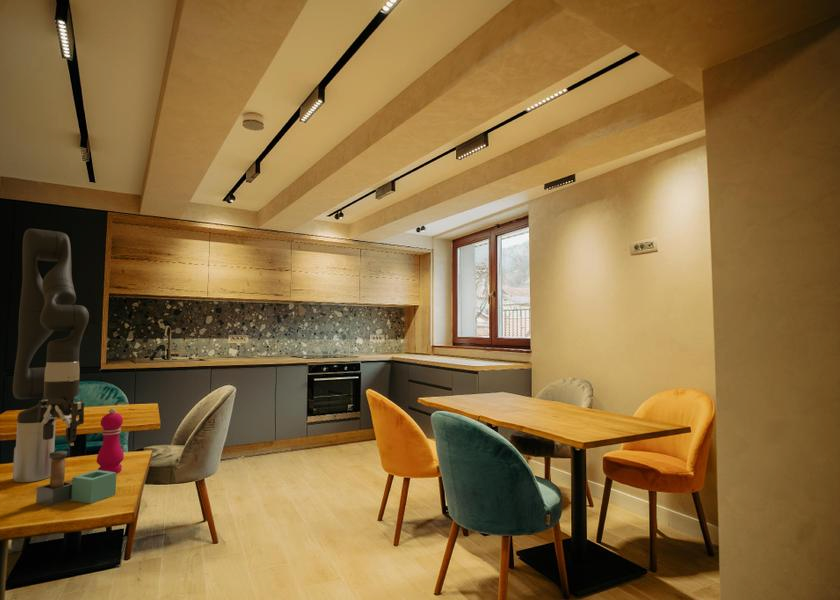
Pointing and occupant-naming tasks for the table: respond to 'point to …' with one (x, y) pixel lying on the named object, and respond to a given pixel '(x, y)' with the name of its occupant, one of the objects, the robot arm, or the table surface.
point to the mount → (54, 494)
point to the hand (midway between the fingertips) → (59, 440)
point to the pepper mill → (111, 443)
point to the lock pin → (57, 469)
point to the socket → (93, 486)
